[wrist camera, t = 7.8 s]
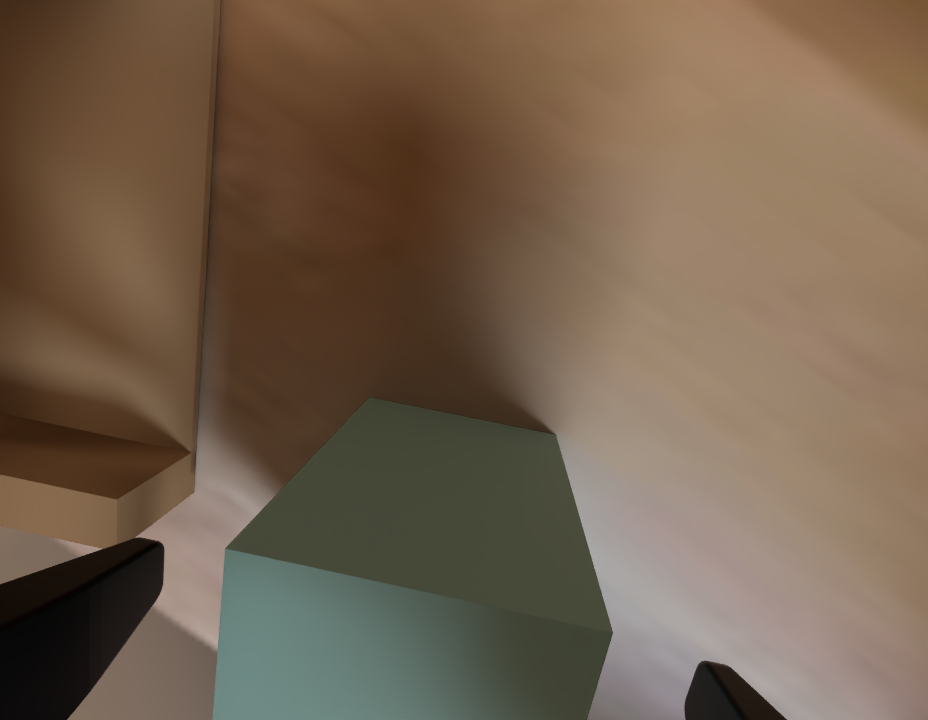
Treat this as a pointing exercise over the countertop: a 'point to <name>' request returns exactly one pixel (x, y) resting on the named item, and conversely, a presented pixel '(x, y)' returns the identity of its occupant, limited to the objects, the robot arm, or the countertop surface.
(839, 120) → the countertop surface
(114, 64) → the tray
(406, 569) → the teal block
